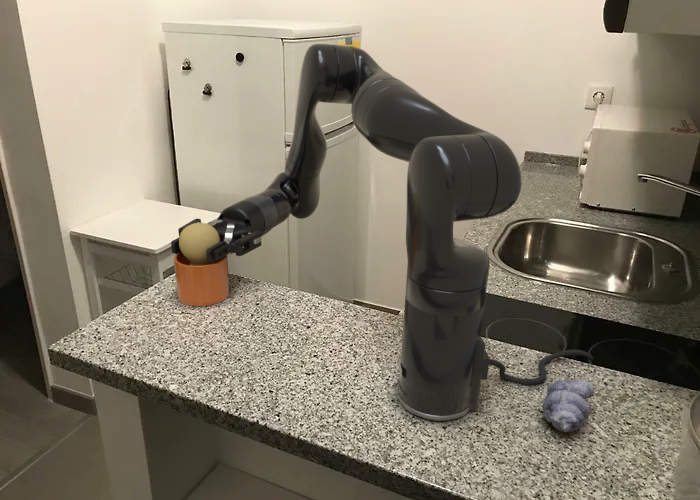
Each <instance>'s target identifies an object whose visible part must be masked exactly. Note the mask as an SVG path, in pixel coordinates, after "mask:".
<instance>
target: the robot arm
mask: <svg viewBox="0 0 700 500" xmlns="http://www.w3.org/2000/svg"><path fill="white" fill-rule="evenodd" d="M319 103H326V104H327V103H328V104H344V105H345V104H346V105H351V106H350V107H351V108H350V112H351V119H352V122H353V125H354V126H355V128H356V130H357V131H358V133H359V134H360V135H361V136H362V137H363V138H364V139H365V140H366V141H367V142H368V143H369V144H370V145H371V146H372V147H373V148H375V149H376V150H377V151H379V152H381V153H383V154H384V155H386V156H388V157H391V158H394V159H397V160H399V161H403V162H406V163H408V165H407V173H406V217H405V219H406V220H405V248H406V257H407V265H406V267H407V268H406V280H405V282H406V283H405V295H404V296H405V297H404V310H403V322H402V336H401V337H402V338H401V350H400V358H398V359H397V362H398V363H397V367H398V372H399V374H398V375H399V376H398V385H397V392H396V393H397V395H396V396H397V399H398V401H399V403H400V405H401V406H402V407H403V408H404V409H405V410H406V411H407V412H408V413H410V414H412V415H414V416H416V417H419V418H421V419H425V420H429V421H435V422H436V421H437V422H445V421H453V420H456V419H460V418H462V417H464V416H465V415H466V414H468V413H469V412H476V411H477V409H478V405H479V395H480V388H481V381H487V379H488V376H489V367H490V366H493V367H495V368H498V369H499V370H498V375H499V377H501V379H502V380H505V381H507V382H510V383H515V384H519V385H525V386H531V385H538V384H541V383H543V382H544V381H545V380H546V379H547V370H546V367H545V365H546V364H548V363H549V362H551V361H554V360H556V359H558V358H562V357H567V356H581V357H584V358H586V359H587V360H590V361H592V360H594V356H592V354H590V352H587V351H585V350H581V349H565V350H561V351H557V352H554V353H551V354H549V355H547V356H545V357H543V358H541V360H539V363H538V369H539V373H540V375H539V376H538V377H535V378H519V377H516V376H512V375H510V374H508V373H506V366H505V365H504V364H503V363H502V362H501V361H498V360H496V359H492V358H491V357H490V356H489V355H488V353H487V351H486V343H485V341H484V339H483V338H482V336H481V335H482V334H481V333H482V327H483V319H484V312H485V304H486V297H487V289H488V280H489V275H490V266H491V264H490V263H491V262H490V257H489V255H488V253H486V251H485V250H484V249H482V248H481V247H479V246H478V245H476V244H474V243H472V242H469V241H466V240H464V239H460V238H457V237H454V223H456V222H457V223H458V222H466V221H475V220H484V219H489V218H492V217H496V216H498V215H501V214H504V213H506V212H508V210H510V209H511V208H512V207H513V206H514V205H515V204H516V202H517V200H518V199H519V197H520V194H521V190H522V186H523V185H522V184H523V182H522V179H523V178H522V171H521V167H520V164H519V161H518V159H517V156H516V155H515V152H513V149H512V148H511V147H510V146H509V145H508V144H507V142H506V141H504V140H503V139H502V138H501V137H499V136H498V135H496V134H493V133H492V132H490V131H487V130H485V129H482V128H480V127H478V126H475V125H473V124H471V123H468V122H466V121H464V120H461V119H459V118H458V117H456V116H454V115H453V114H451V113H449V112H448V111H446V110H445V109H443V108H442V107H440V106H439V105H438V104H436V103H434V102H433V101H431V100H430V99H428V98H426V97H425V96H424V95H422V94H421V93H420V92H419V91H417V90H416V89H414V88H413V87H411V86H410V85H408V84H407V83H406V82H404V81H402V80H401V79H399V78H397V77H395V76H394V75H392V74H391V73H390V72H388V71H386V70H385V69H383V68H382V67H381V66H380V65H379V63H378V62H376V60H375V59H374V58H373V57H372V56H371V55H370V54H369V53H368V52H366V51H365V50H364V49H362V48H360V47H357V46H352V45H342V44H330V43H315V44H311V45H310V46H309V47H308V48H307V49H306V51H305V54H304V57H303V59H302V63H301V68H300V73H299V81H298V89H297V97H296V104H295V114H294V125H293V133H292V137H291V142H290V146H289V150H288V153H287V157H286V160H285V163H284V171H281V172H279V173H278V174H277V175H276V176H275V177H273V179H272V181H271V182H270V184H269V185H268V186H267V187H266V188H265V189H264V190H263V191H261V192H259V193H257V194H254V195H253V196H248V197H245V198H244V199H242V200H240V201H238V202H236V203H234V204H231V205H230V206H228V207H226V208H223V210H222V211H221V212H220V214H219V216H218V218H217V219H216V220H212V221H209V222H207V224H208V225H210V226H212V227H213V228H215V229H216V231H217V232H218V234H219V238H220V242H219V243H217V244H216V245H214V246H212V247H210V248H209V249H207V261H208V262H214V261H216V260H218V259H220V258H222V257H223V256H225V255H227V256H232V255H233V254H235V256H237V257H242V256H245V255H246V254H248V253H250V252H252V251H254V250H256V249H258V248H260V247H261V246H262V238H263V236H265V235H267V234H268V233H269V232H270V231H271V230H272V229H274V228H275V227H277V226H278V225H280V224H282V223H283V222H285V221H286V220H287V219H288V218H289V217H290V215H291V216H292V217H294V218H296V219H299V220H304V219H307V218H309V217H311V216H312V215H313V214H314V213H315V211H316V209H317V208H318V205H319V202H320V196H321V195H320V194H321V185H320V183H321V179H320V178H321V177H320V175H321V172H322V169H323V166H324V163H325V161H326V158H327V154H328V143H327V142H328V141H327V138H326V136H325V133H324V130H323V128H322V126H321V124H320V122H319V119H318V116H317V106H318V104H319ZM194 223H202V220H201V218H194V219H193V220H191V221H189V222H187V223H186V224H184V225H182V226H181V227H179V228H178V229H177V231H178V232H177V233H178V237H177V238H175V239H173V240H171V241H170V248H171V253H172V254H174V255H176V254H178V253H180V252H182V251H181V249H180V247H179V237H180V234H181V232H182V231H183V229H185V228H186V227H187V226H189V225H191V224H194Z"/></svg>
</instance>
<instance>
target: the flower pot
mask: <svg viewBox="0 0 700 500" xmlns="http://www.w3.org/2000/svg"><path fill="white" fill-rule="evenodd" d="M228 261H229V260H228V255H225V256H223V257H222V258H220V259H218V260H216V261H214V262H213V264H210V265H203V266H190V263H191V262H190V261H189V260H188V259H187V258H186V257H185V256H184V255H183V253H182V252H180V253H178V254H174V257H173V265H174V267H173V268H174V275H175V285H176V295H177V299H178V301H179V302H180V303H182V304H184V305H187V306H192V307H205V306H211V305H215V304H219V303H221V302H223V301H225V300H226V299H227V298H228V297H229V295H230V278H229V277H230V276H229V264H228Z"/></svg>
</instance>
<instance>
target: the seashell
mask: <svg viewBox="0 0 700 500" xmlns="http://www.w3.org/2000/svg"><path fill="white" fill-rule="evenodd" d="M594 392H595V387H594V386H593V385H592V382H590V381H587V380H586V379H575V380H574V379H573V380H571V379H568V380H567V379H564V380H563V379H561V380H558V381H555V382H553V383H551V384H549V386H548V387H547V391H546V393H547V396H546V397H545V398H544V400H543V402H542V412H543V414H544V416H545V419H546V421H547V422H548V423H551V425H552V426H553V428H554V429H555V430H556V431H558V432H564V433H567V432H571V433H572V432H575V431H577V430H581V428H582V427H583V426H584V423H585V421H586V420H587V418H588V417H589V415H590V405H589V404H588V402H587V401H586V400H587V399H591V398H592V397H593V395H594Z"/></svg>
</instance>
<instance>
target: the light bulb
mask: <svg viewBox="0 0 700 500" xmlns="http://www.w3.org/2000/svg"><path fill="white" fill-rule="evenodd" d="M178 238H179V247H180V249H181V251H182V253H183V255H184V256H185V257H186V258H187V259H188V260H189V261H190V262H191V263H190V266H203V265H210V264H213V262H208V261H207V249H209V248H210V247H212V246H214V245H216V244H217V243H219V242H220V238H219V234H218V232H217V231H216V229H215V228H213V227H212V226H210V225H208V223H205V222H201V223H194V224H191V225H189V226H187V227H186V228H185V229H183V231H182V232H181V234H180V237H179V236H178Z"/></svg>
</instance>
